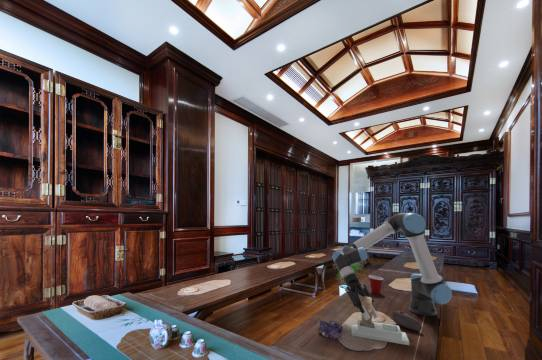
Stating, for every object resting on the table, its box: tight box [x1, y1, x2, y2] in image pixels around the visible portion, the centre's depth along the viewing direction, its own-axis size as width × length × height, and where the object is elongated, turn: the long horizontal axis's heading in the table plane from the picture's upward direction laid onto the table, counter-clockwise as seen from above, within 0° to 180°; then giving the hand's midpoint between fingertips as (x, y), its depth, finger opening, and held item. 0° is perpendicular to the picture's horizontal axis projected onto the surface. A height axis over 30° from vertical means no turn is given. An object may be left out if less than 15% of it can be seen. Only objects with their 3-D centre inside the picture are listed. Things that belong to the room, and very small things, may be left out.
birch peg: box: [360, 296, 373, 324], centre depth 131 cm, size 5×5×12 cm
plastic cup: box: [368, 274, 384, 295], centre depth 199 cm, size 11×11×12 cm
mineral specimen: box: [318, 320, 343, 340], centre depth 129 cm, size 11×14×4 cm
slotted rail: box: [351, 318, 410, 346], centre depth 128 cm, size 26×10×4 cm, turn 72°
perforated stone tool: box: [392, 310, 423, 332], centre depth 139 cm, size 15×5×7 cm, turn 33°
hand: (372, 318), depth 127 cm, fingers closed on birch peg, 5 cm apart
